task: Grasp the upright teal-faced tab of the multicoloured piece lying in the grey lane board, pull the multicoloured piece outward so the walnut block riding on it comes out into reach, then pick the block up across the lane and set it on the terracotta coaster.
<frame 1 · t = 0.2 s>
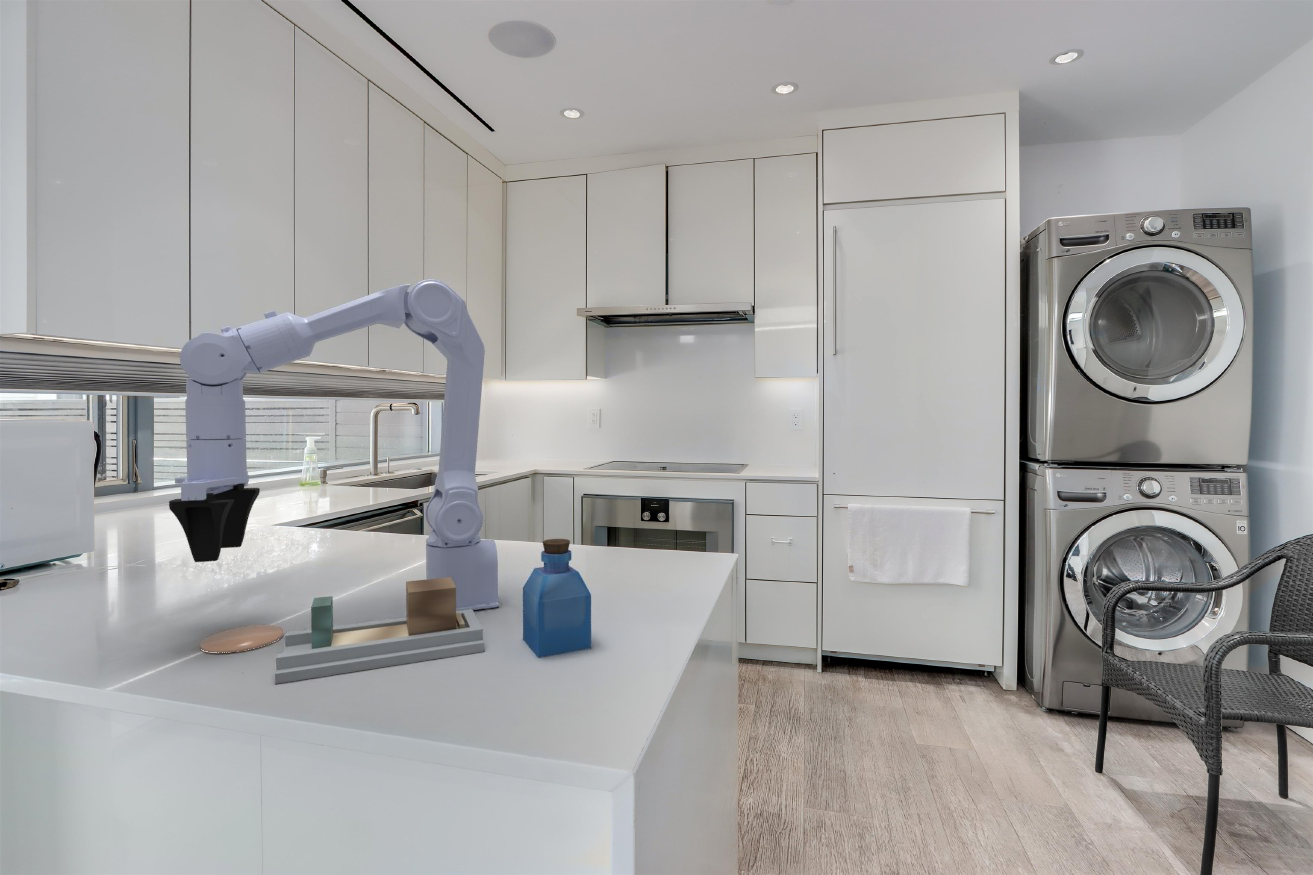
hand: (219, 553, 72), 10 cm above the counter, tool pointing down, fingers open, 7 cm apart
lane board: (385, 649, 68), on the counter
multicoloured piece: (391, 616, 68), point 4 cm above the counter, slide at 0.0 cm, touching walnut block
coaster: (243, 640, 71), on the counter
walnut block: (430, 627, 70), point 2 cm above the counter, touching multicoloured piece
perfume bottle: (556, 645, 70), on the counter
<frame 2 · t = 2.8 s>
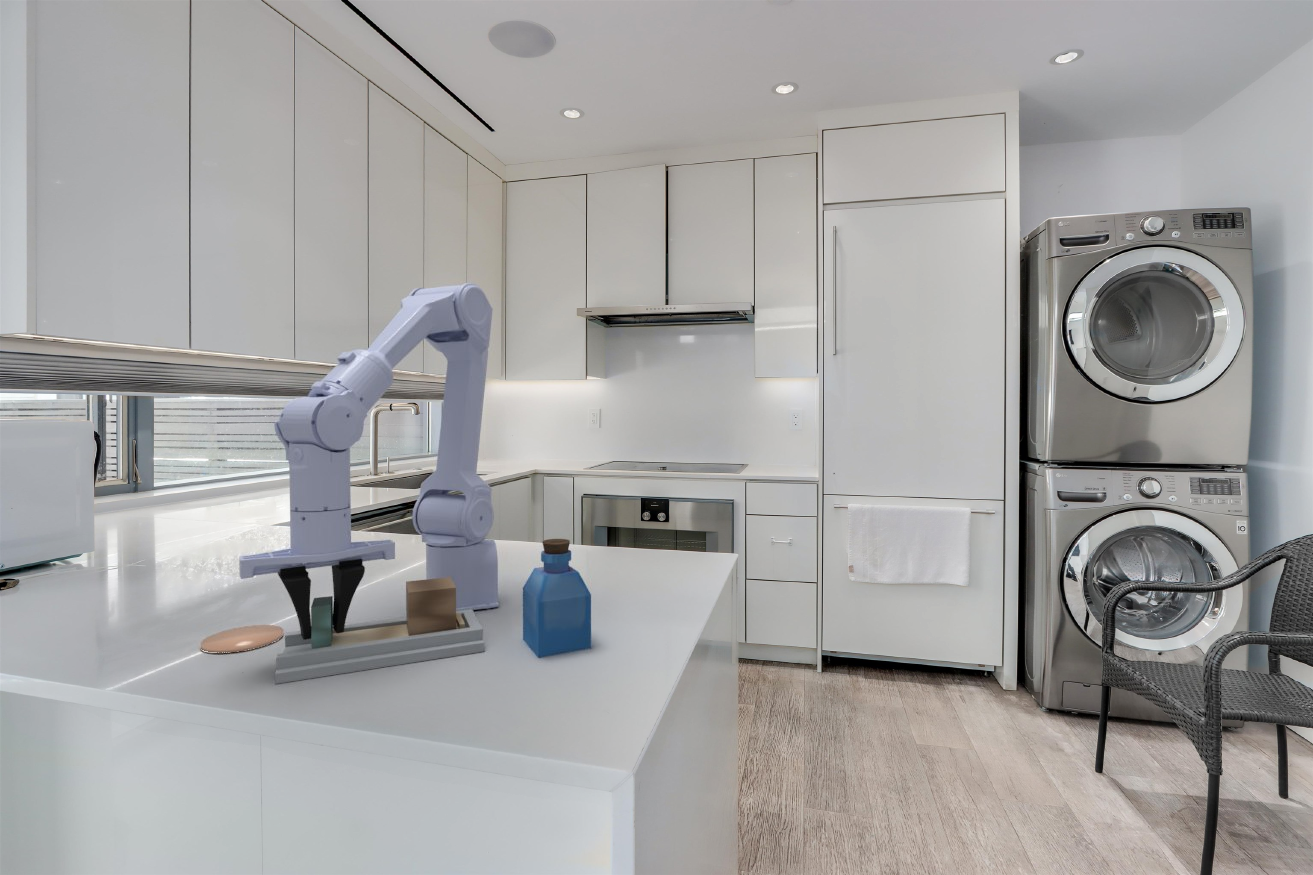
hand: (322, 633, 65), 3 cm above the counter, tool pointing down, fingers closed on multicoloured piece, 2 cm apart
multicoloured piece: (391, 616, 68), point 4 cm above the counter, slide at 0.0 cm, touching gripper, walnut block
everything else where it was.
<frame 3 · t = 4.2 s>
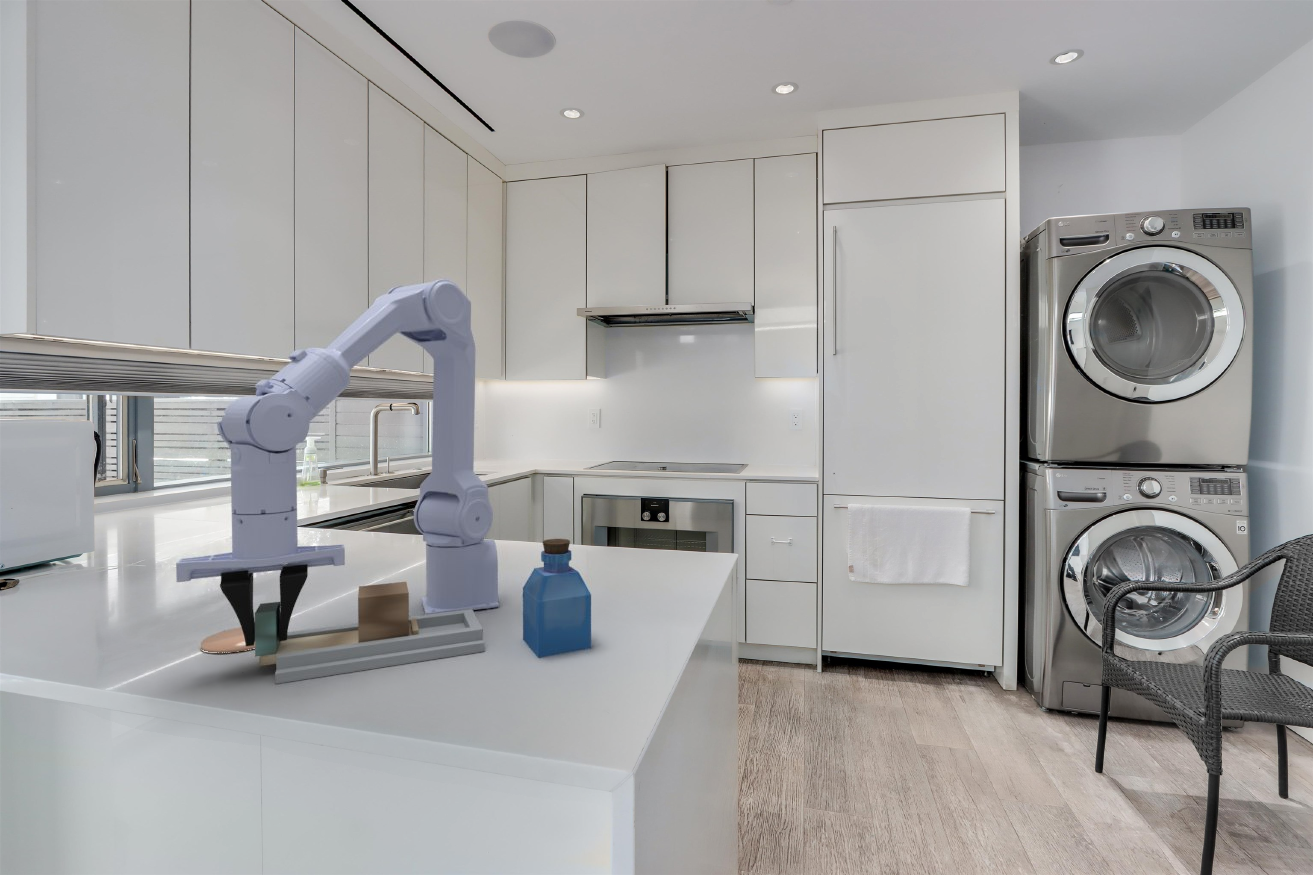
hand: (267, 640, 63), 3 cm above the counter, tool pointing down, fingers closed
multicoloured piece: (341, 622, 66), point 4 cm above the counter, slide at 5.0 cm, touching gripper, walnut block
walnut block: (383, 633, 68), point 2 cm above the counter, touching multicoloured piece
everything else where it was.
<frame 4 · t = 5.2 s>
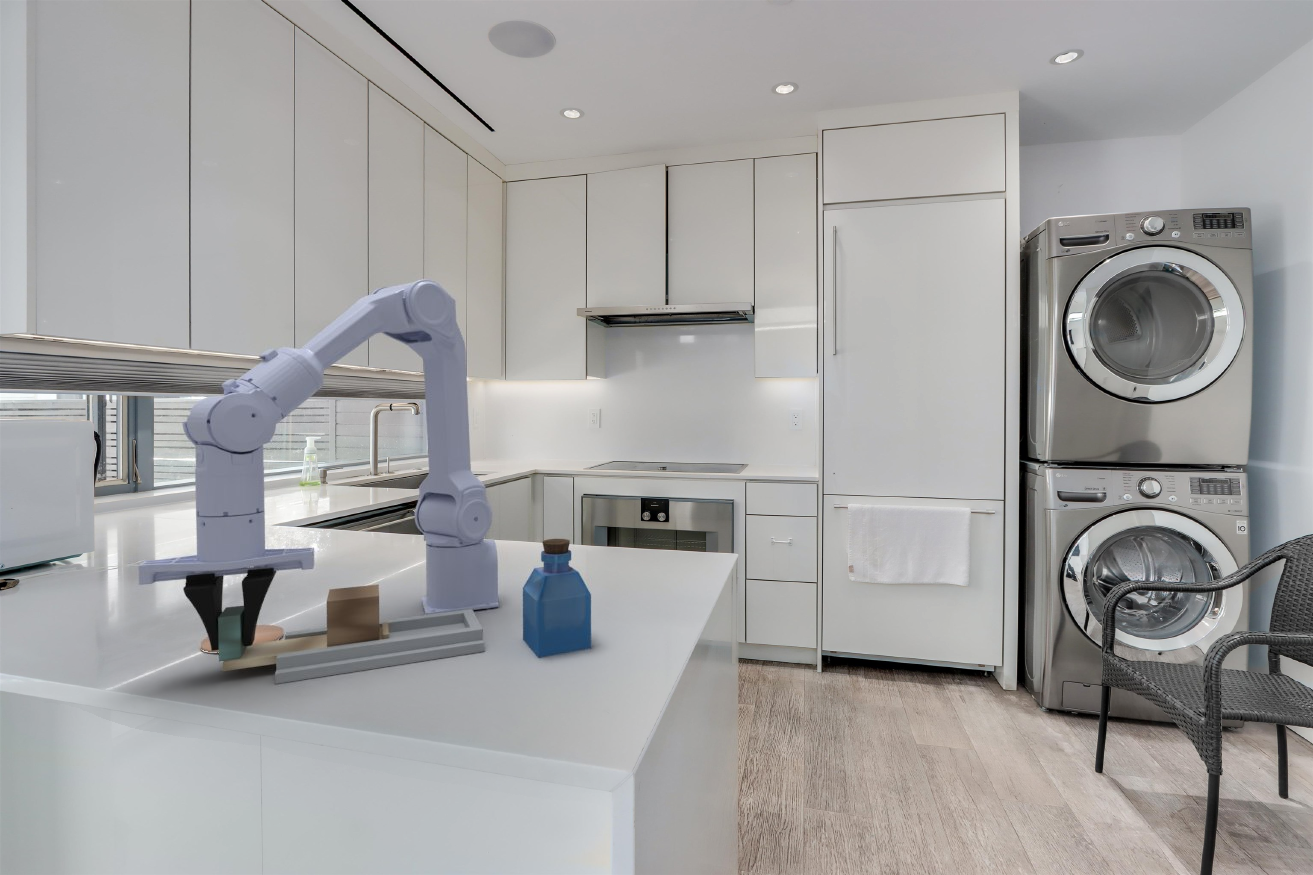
hand: (233, 644, 62), 3 cm above the counter, tool pointing down, fingers closed
multicoloured piece: (309, 626, 65), point 4 cm above the counter, slide at 8.0 cm, touching walnut block
walnut block: (354, 637, 67), point 2 cm above the counter, touching multicoloured piece
everything else where it was.
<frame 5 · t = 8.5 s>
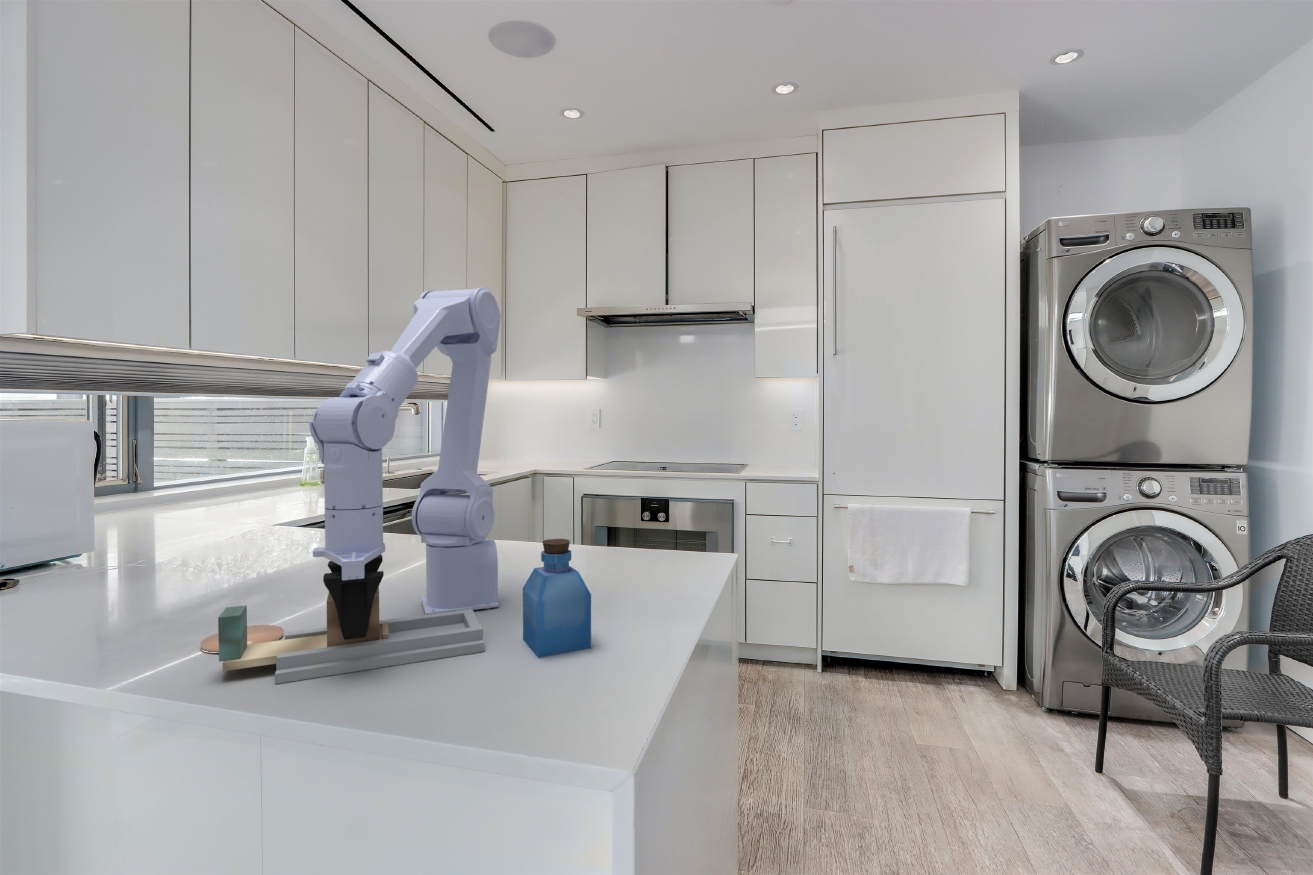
hand: (355, 629, 67), 3 cm above the counter, tool pointing down, fingers closed on walnut block, 5 cm apart
walnut block: (354, 637, 67), point 2 cm above the counter, touching gripper, multicoloured piece
everything else where it was.
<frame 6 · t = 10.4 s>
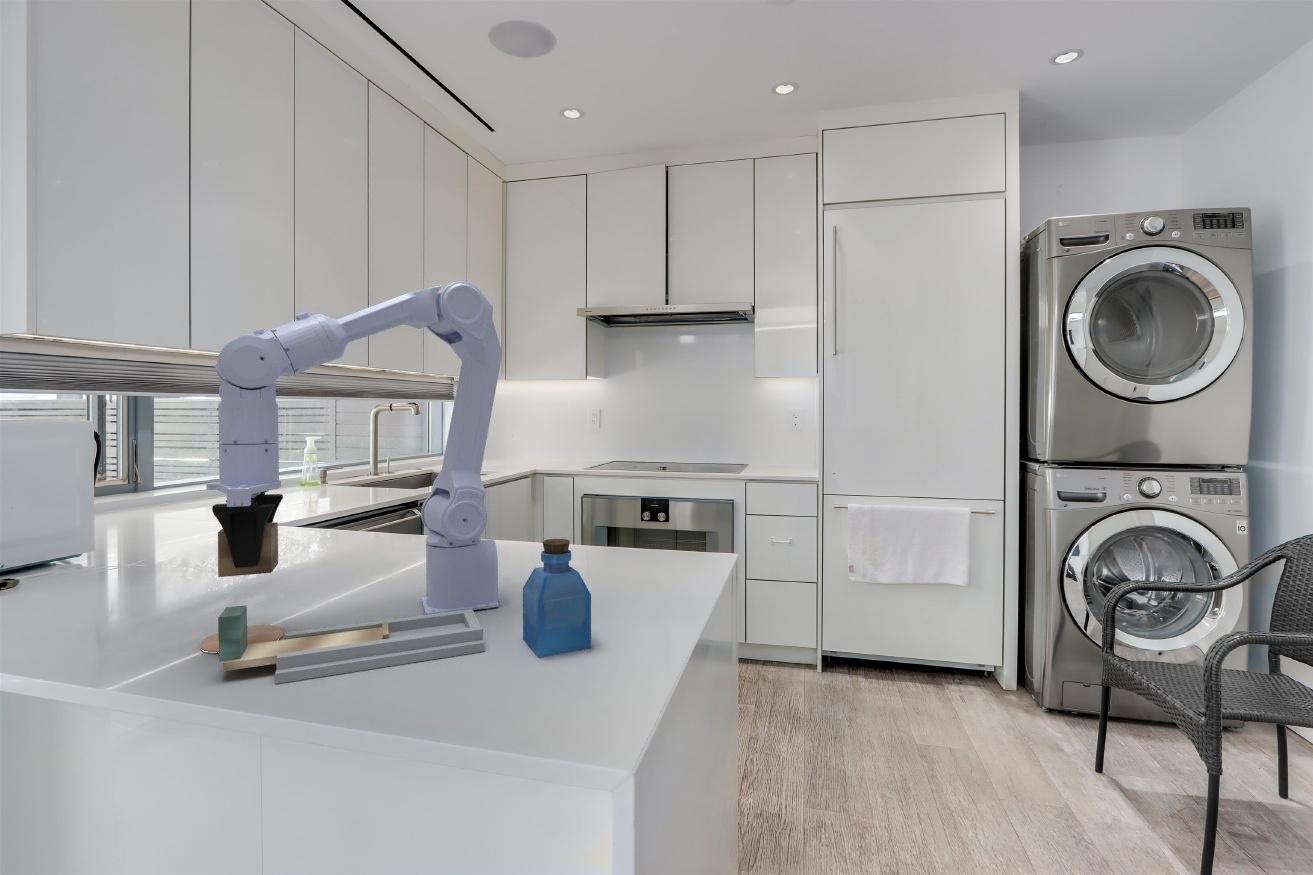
hand: (250, 561, 70), 9 cm above the counter, tool pointing down, fingers closed on walnut block, 5 cm apart
multicoloured piece: (309, 626, 65), point 4 cm above the counter, slide at 8.0 cm
walnut block: (249, 569, 70), point 8 cm above the counter, touching gripper
everything else where it was.
when the fingers open (3 cm above the counter, at t = 12.3 s): walnut block drops 1 cm, resting on coaster.
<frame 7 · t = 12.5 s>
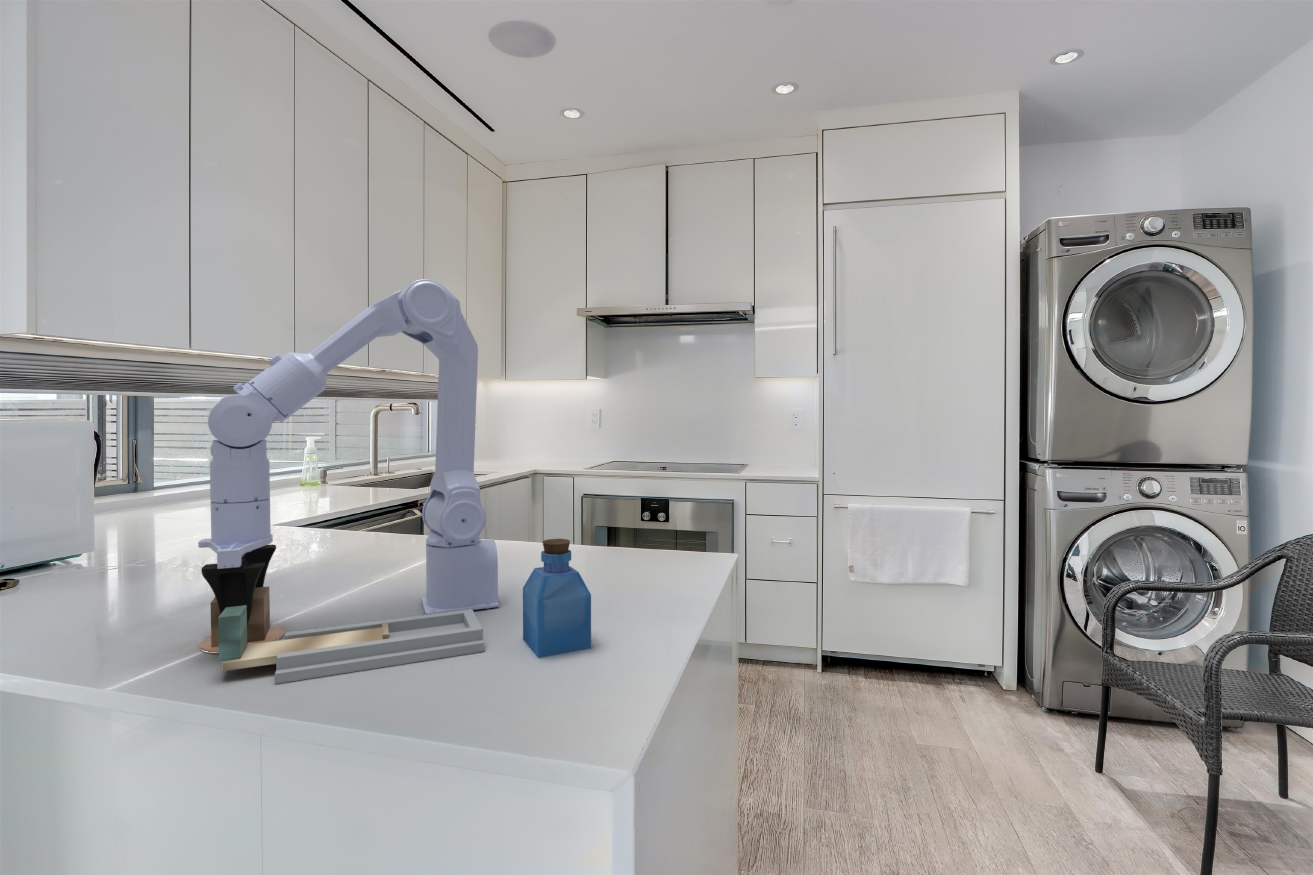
hand: (242, 616, 71), 3 cm above the counter, tool pointing down, fingers open, 7 cm apart
walnut block: (242, 636, 71), resting on coaster
everything else where it was.
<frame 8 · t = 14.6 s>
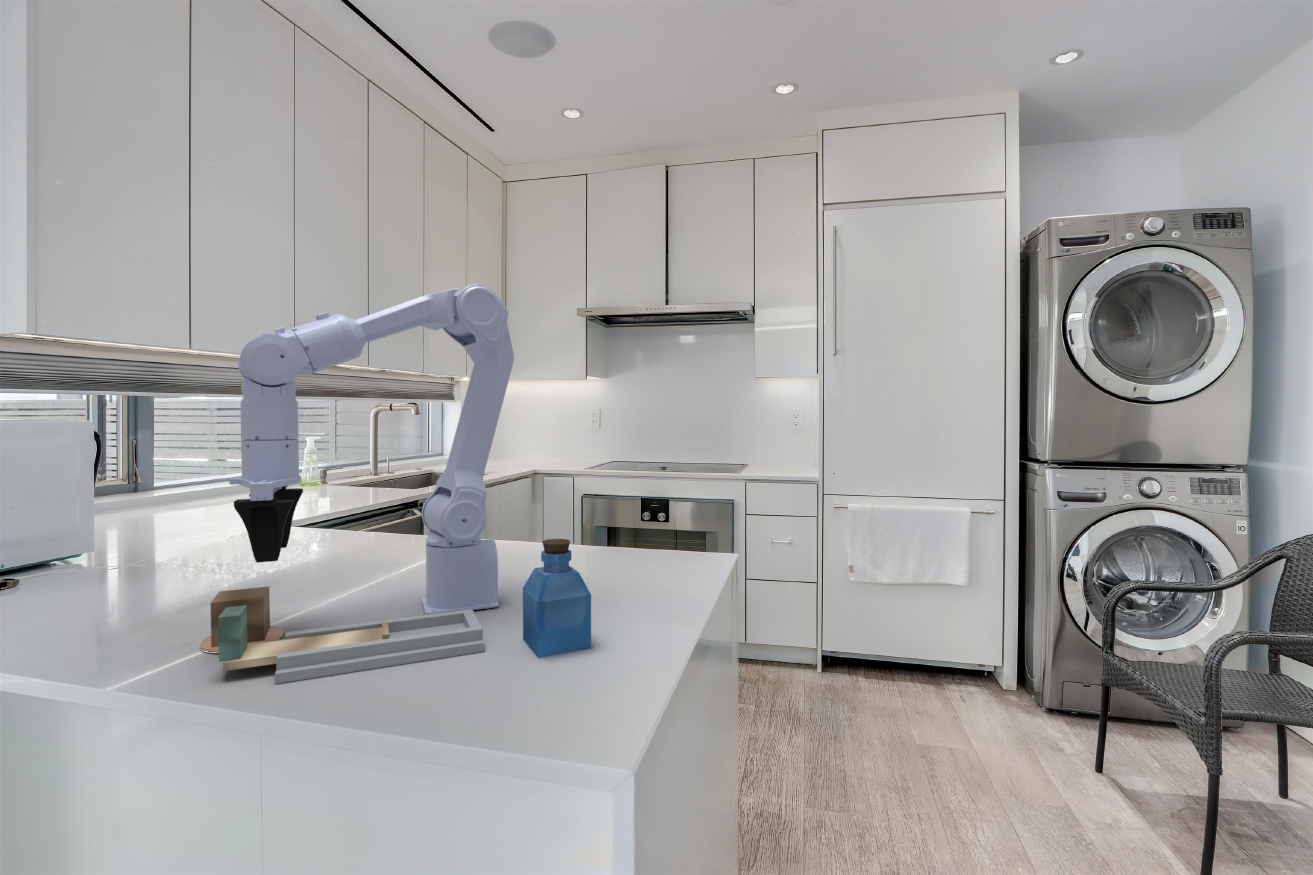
hand: (272, 554, 72), 10 cm above the counter, tool pointing down, fingers open, 7 cm apart
nothing on the counter moved.
at the end: multicoloured piece slide at 8.0 cm; walnut block inside the target area on the coaster (0.1 cm from its centre), point 0.5 cm above the coaster's base; the gripper is holding nothing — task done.
